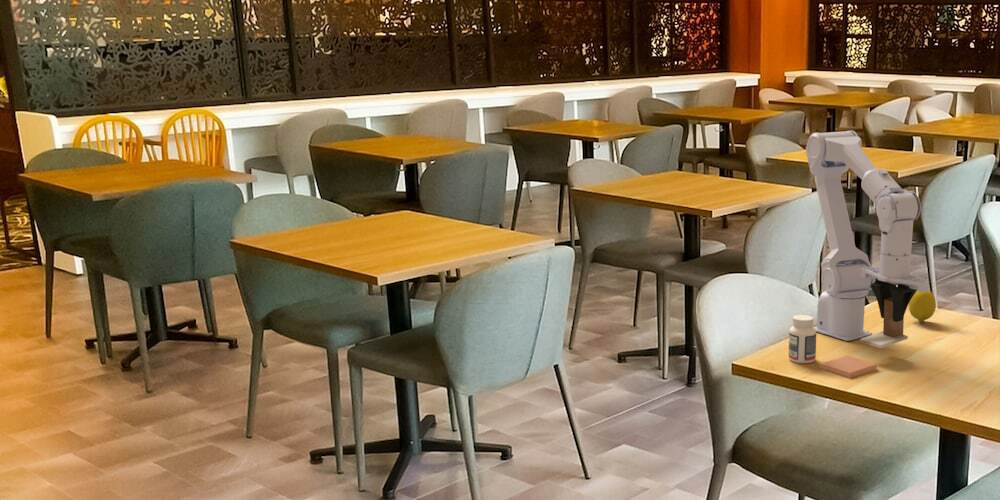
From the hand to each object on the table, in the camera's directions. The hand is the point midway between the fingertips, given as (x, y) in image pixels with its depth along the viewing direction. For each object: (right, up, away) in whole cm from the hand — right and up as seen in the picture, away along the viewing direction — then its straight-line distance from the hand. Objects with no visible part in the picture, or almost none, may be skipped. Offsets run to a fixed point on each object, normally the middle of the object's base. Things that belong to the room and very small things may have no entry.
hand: (891, 318), depth 207 cm
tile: (-7, -9, -3) cm, 11 cm away
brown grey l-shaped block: (-2, -4, 0) cm, 5 cm away
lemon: (+15, -2, +23) cm, 28 cm away
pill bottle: (-18, -9, +1) cm, 20 cm away
